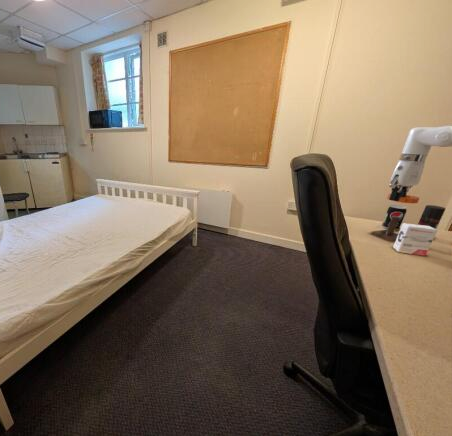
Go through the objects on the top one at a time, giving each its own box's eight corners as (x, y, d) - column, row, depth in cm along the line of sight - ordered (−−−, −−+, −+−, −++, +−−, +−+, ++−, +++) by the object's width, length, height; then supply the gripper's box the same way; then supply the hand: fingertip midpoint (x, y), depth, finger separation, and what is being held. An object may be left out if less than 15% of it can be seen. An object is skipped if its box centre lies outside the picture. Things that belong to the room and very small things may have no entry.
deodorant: (413, 232, 111) (426, 204, 106) (431, 236, 107) (445, 207, 101) (412, 236, 107) (425, 206, 102) (431, 240, 103) (445, 209, 98)
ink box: (418, 250, 93) (430, 225, 89) (425, 256, 89) (438, 229, 85) (392, 247, 97) (402, 222, 93) (398, 252, 92) (409, 226, 88)
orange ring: (423, 202, 96) (425, 198, 96) (406, 204, 95) (408, 199, 94) (397, 197, 105) (399, 192, 104) (381, 198, 103) (383, 194, 103)
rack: (406, 240, 103) (415, 219, 99) (391, 241, 101) (400, 220, 98) (384, 232, 111) (392, 213, 108) (370, 234, 110) (377, 214, 106)
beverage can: (379, 227, 117) (388, 206, 113) (382, 225, 121) (390, 204, 116) (397, 231, 112) (406, 209, 108) (399, 228, 116) (408, 207, 111)
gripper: (409, 159, 88) (391, 203, 94) (438, 158, 91) (420, 201, 97) (387, 158, 94) (372, 199, 101) (415, 157, 97) (399, 197, 104)
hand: (396, 200), depth 99 cm, fingers closed on orange ring, 2 cm apart
